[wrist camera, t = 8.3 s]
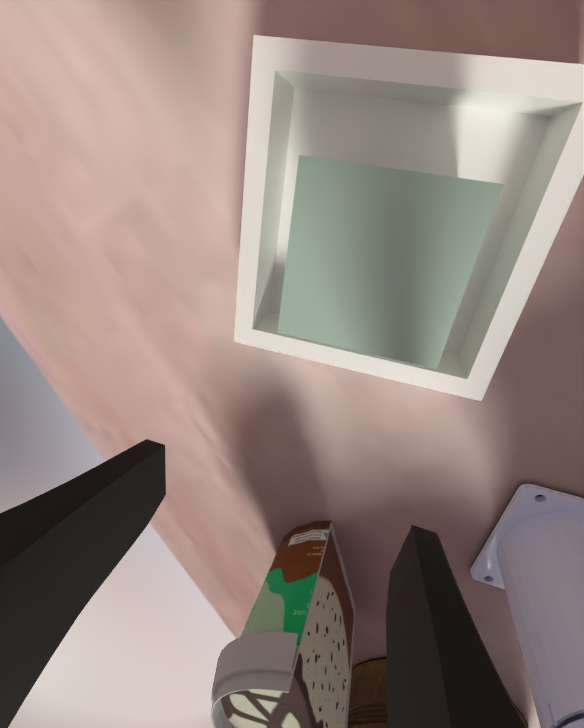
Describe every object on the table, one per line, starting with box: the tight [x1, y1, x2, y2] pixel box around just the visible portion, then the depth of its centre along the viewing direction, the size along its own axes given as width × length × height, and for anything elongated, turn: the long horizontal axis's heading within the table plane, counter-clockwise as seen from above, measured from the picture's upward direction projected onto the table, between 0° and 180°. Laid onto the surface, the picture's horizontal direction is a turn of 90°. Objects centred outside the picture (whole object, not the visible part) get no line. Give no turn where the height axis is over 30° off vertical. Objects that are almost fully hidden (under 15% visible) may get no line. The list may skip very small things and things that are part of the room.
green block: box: [277, 155, 504, 369], centre depth 12 cm, size 4×4×7 cm
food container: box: [211, 521, 356, 728], centre depth 23 cm, size 12×6×10 cm, turn 15°
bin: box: [234, 35, 584, 401], centre depth 15 cm, size 11×11×4 cm
